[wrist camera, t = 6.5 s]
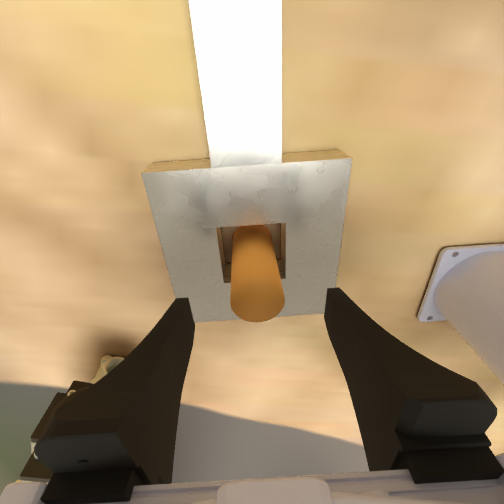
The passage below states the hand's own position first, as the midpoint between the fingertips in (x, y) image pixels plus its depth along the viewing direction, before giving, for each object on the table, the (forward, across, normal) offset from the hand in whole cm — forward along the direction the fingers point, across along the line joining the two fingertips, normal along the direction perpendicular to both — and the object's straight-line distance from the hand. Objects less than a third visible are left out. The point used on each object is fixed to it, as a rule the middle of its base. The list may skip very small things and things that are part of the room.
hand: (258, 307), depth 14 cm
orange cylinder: (+8, 0, 0) cm, 8 cm away
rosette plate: (+8, 0, -4) cm, 9 cm away
